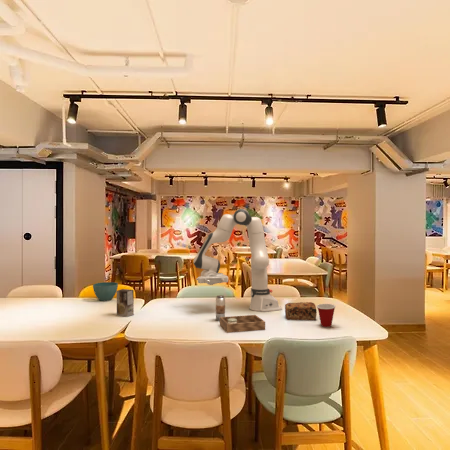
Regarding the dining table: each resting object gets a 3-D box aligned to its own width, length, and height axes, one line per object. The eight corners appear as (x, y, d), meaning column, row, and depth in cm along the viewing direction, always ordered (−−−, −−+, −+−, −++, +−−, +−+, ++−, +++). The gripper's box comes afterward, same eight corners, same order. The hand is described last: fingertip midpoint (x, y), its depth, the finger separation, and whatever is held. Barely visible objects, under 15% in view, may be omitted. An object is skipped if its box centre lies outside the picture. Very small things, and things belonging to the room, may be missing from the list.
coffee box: (134, 314, 244) (134, 289, 244) (127, 317, 239) (127, 291, 238) (122, 313, 248) (122, 288, 248) (116, 315, 242) (116, 290, 242)
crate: (255, 322, 227) (255, 314, 227) (265, 329, 212) (265, 321, 212) (219, 324, 221) (219, 317, 221) (227, 332, 206) (227, 324, 206)
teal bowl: (113, 302, 280) (113, 286, 280) (89, 302, 280) (89, 286, 280) (120, 297, 298) (120, 282, 298) (97, 297, 299) (97, 282, 298)
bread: (314, 316, 242) (314, 301, 242) (316, 321, 231) (317, 304, 231) (284, 316, 243) (284, 300, 243) (286, 320, 233) (286, 304, 232)
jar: (235, 327, 216) (235, 317, 216) (237, 330, 211) (238, 320, 211) (226, 328, 215) (226, 318, 215) (229, 330, 210) (229, 320, 210)
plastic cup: (312, 324, 223) (312, 304, 223) (327, 322, 227) (327, 302, 227) (324, 329, 213) (324, 308, 213) (339, 327, 217) (339, 306, 217)
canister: (223, 318, 235) (223, 295, 235) (226, 321, 230) (226, 296, 230) (214, 319, 234) (214, 295, 234) (217, 321, 228) (217, 297, 228)
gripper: (195, 274, 254) (199, 277, 240) (224, 273, 259) (230, 275, 246) (195, 283, 254) (199, 286, 240) (224, 282, 259) (230, 285, 246)
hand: (215, 281), depth 243 cm, fingers open, 8 cm apart
